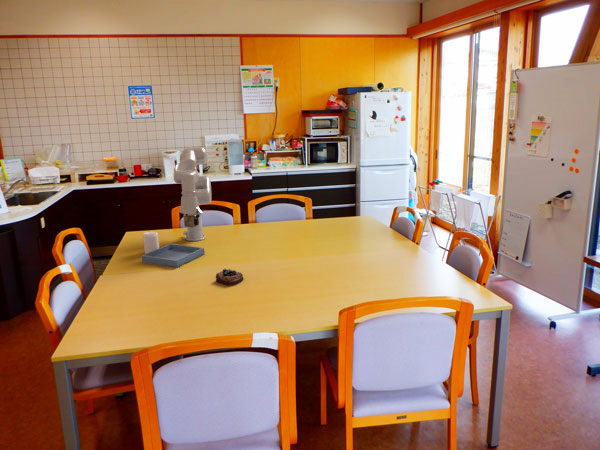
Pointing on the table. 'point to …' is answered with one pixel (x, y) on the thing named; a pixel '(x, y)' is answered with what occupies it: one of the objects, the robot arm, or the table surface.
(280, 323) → the table surface
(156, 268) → the table surface
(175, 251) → the slate tray
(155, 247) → the beverage can
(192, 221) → the walnut block
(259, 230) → the table surface
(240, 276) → the pastry
